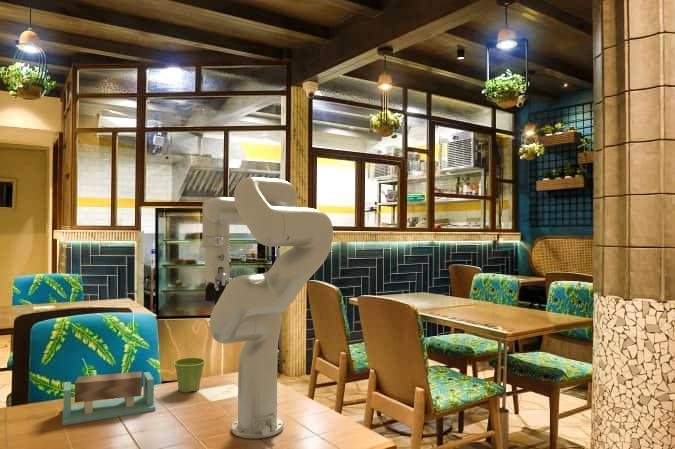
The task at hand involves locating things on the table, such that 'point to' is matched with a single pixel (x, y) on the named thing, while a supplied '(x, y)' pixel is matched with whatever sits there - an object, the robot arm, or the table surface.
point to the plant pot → (189, 373)
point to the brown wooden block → (108, 386)
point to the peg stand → (108, 405)
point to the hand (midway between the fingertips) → (215, 302)
